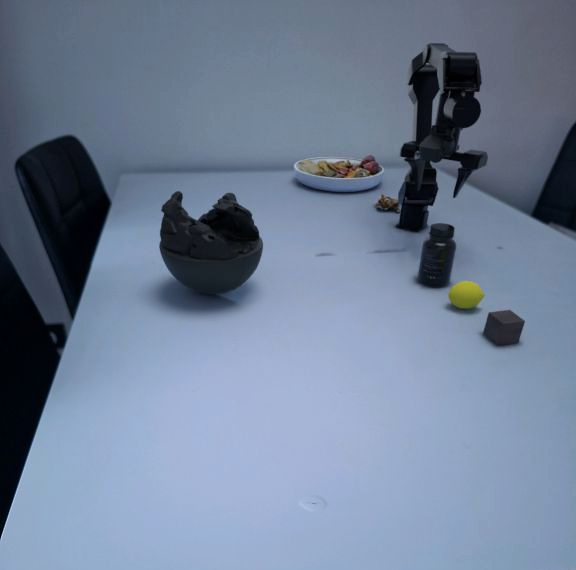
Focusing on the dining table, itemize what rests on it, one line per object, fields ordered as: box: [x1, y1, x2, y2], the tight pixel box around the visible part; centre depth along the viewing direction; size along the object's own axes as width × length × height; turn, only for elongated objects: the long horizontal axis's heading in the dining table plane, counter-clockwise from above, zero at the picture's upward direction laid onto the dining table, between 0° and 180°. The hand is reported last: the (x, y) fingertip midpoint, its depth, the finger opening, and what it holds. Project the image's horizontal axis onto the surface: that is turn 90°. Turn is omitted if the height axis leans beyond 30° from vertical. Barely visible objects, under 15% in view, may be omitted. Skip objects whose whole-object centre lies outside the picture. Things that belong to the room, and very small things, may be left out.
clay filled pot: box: [158, 190, 264, 295], centre depth 103 cm, size 20×20×19 cm
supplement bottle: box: [417, 222, 457, 288], centre depth 111 cm, size 7×7×12 cm
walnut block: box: [482, 309, 526, 347], centre depth 94 cm, size 4×4×4 cm
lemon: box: [447, 280, 485, 310], centre depth 103 cm, size 7×5×5 cm
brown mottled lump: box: [375, 193, 401, 214], centre depth 158 cm, size 7×12×4 cm, turn 173°
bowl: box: [293, 154, 385, 193], centre depth 178 cm, size 30×30×8 cm
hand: (435, 193), depth 124 cm, fingers open, 9 cm apart
